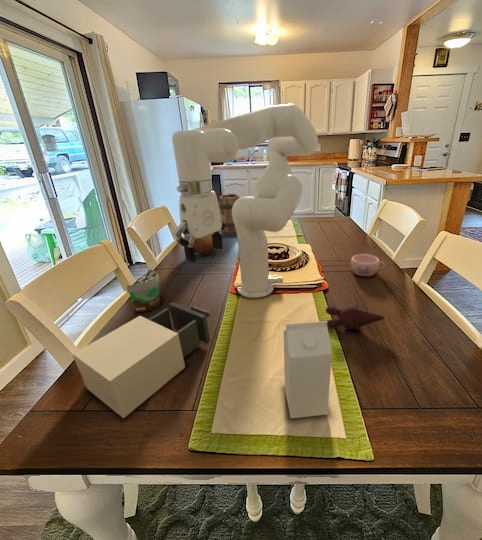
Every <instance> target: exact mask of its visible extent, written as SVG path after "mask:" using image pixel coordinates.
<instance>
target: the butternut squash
mask: <svg viewBox="0 0 482 540" xmlns="http://www.w3.org/2000/svg"><path fill="white" fill-rule="evenodd" d="M212 234H214V233H212ZM212 234H209V235H207V236H204V237H202V238H195V241H194V243H193V247H195V252H196V255H199V256H202V257H205V256H207V255H210V254H211V253H213V252H214V250H215V248H213V243H212ZM189 239H190V238H189ZM189 239H188V241H189Z"/></svg>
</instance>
